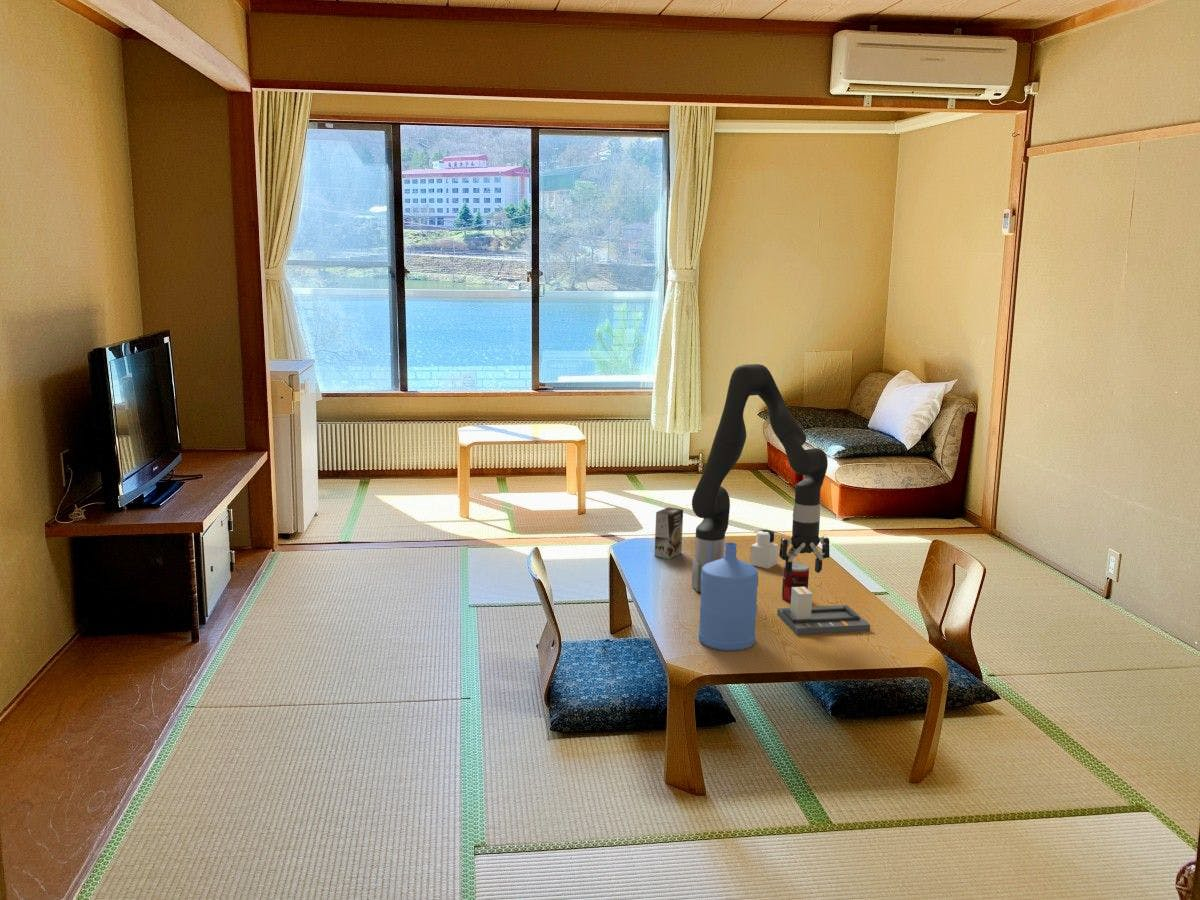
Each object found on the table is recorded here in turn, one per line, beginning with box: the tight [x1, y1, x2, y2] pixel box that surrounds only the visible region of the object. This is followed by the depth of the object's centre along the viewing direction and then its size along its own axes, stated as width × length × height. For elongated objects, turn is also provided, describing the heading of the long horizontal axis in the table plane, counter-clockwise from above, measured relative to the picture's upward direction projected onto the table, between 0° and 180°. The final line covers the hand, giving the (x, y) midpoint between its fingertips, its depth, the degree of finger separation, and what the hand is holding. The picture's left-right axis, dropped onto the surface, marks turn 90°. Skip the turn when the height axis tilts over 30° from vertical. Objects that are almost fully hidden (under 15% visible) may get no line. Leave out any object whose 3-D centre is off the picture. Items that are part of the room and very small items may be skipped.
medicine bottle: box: [749, 529, 779, 570], centre depth 345 cm, size 7×7×12 cm
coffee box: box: [654, 506, 684, 560], centre depth 354 cm, size 9×6×16 cm
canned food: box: [781, 561, 810, 604], centre depth 313 cm, size 8×8×11 cm
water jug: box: [698, 542, 759, 652], centre depth 277 cm, size 16×16×28 cm
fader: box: [789, 587, 813, 620], centre depth 292 cm, size 4×6×8 cm, turn 10°
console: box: [776, 604, 871, 636], centre depth 294 cm, size 22×16×3 cm
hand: (803, 572), depth 290 cm, fingers open, 8 cm apart
